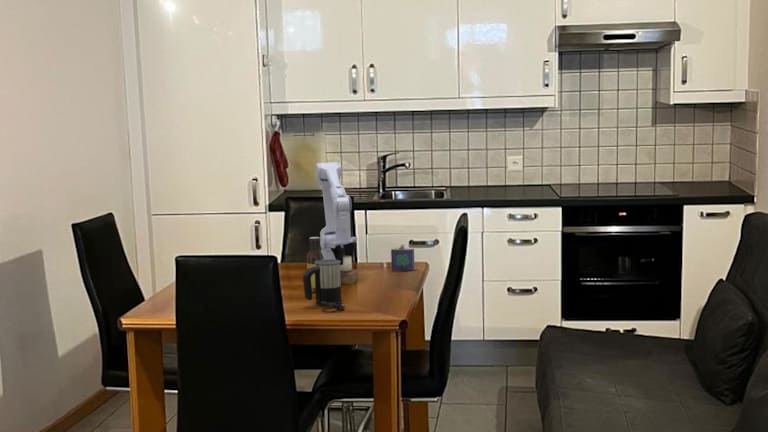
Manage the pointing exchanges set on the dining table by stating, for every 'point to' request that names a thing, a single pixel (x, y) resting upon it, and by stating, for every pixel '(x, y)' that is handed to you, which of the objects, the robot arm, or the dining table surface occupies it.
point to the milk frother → (324, 283)
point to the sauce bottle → (314, 257)
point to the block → (348, 276)
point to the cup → (346, 263)
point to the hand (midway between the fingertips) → (344, 263)
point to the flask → (402, 259)
